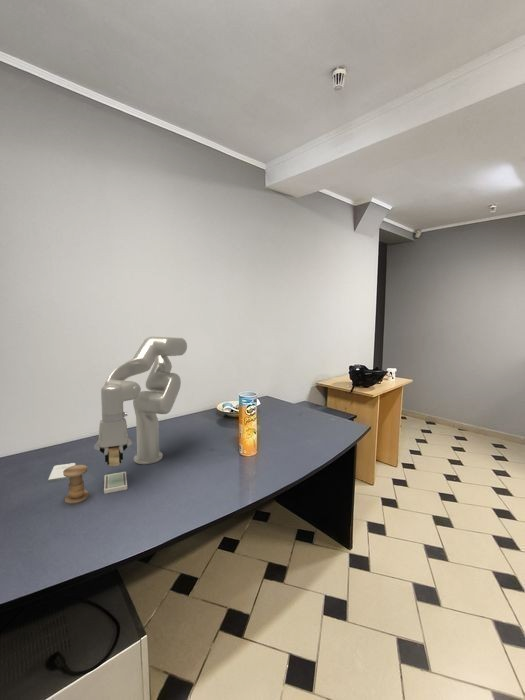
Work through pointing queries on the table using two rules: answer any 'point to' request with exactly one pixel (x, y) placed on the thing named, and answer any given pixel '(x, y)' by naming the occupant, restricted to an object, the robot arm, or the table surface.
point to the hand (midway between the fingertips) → (114, 462)
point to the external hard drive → (59, 472)
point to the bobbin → (76, 484)
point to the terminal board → (115, 482)
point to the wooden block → (113, 456)
